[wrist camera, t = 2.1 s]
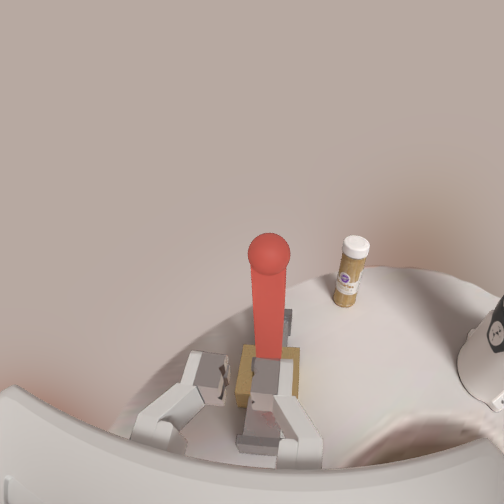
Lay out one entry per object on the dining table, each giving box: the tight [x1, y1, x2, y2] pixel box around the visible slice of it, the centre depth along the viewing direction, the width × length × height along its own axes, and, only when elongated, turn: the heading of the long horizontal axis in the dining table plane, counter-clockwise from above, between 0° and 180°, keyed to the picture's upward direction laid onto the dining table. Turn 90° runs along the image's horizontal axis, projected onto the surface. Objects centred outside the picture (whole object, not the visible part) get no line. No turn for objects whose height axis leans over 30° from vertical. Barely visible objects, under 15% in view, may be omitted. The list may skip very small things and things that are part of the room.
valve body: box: [235, 309, 300, 456], centre depth 36 cm, size 8×22×5 cm, turn 173°
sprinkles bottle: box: [333, 235, 370, 307], centre depth 47 cm, size 5×5×14 cm
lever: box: [248, 233, 290, 372], centre depth 29 cm, size 4×4×21 cm
